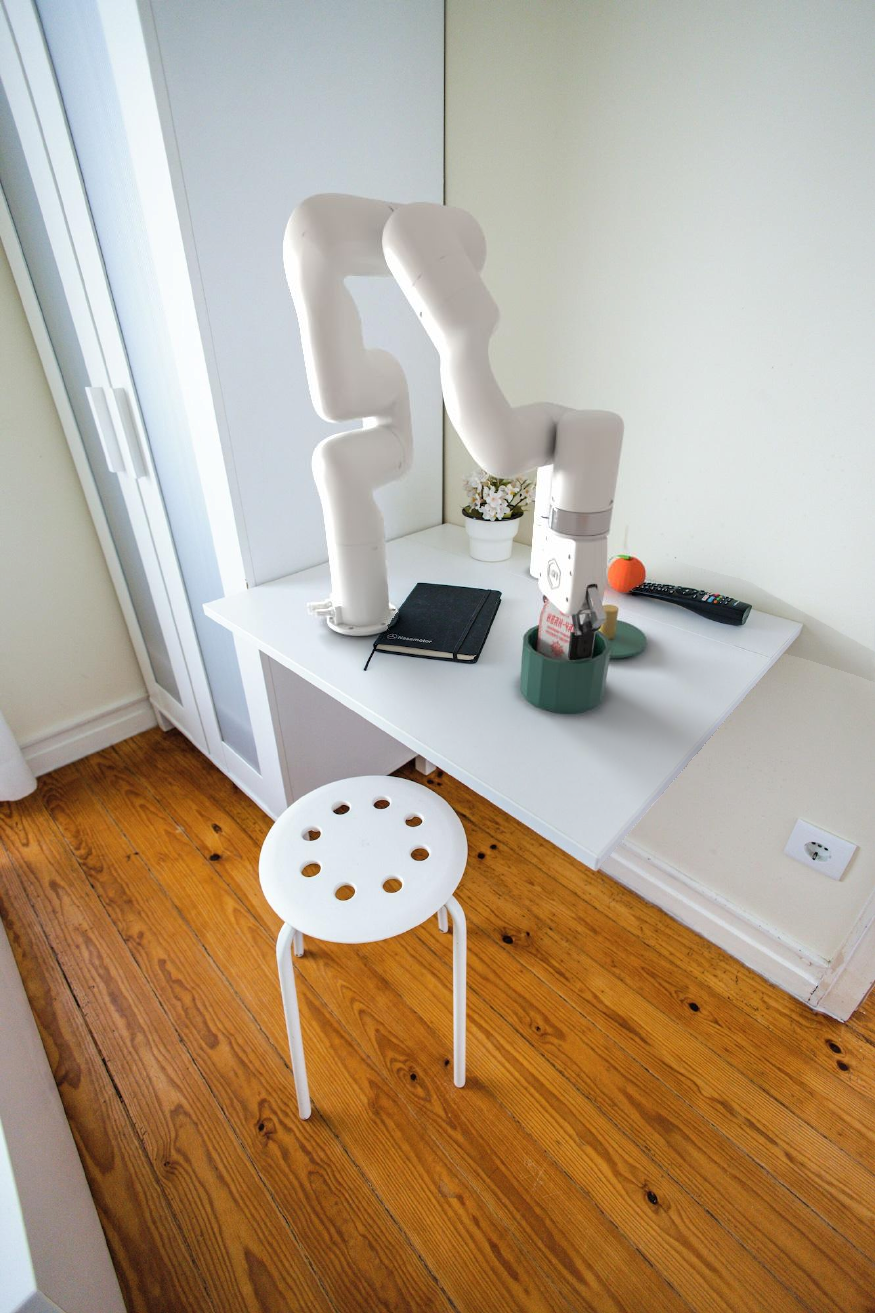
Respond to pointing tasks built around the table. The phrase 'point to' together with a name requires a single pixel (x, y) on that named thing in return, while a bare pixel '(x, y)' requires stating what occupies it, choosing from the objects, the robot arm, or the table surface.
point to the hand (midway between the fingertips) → (565, 642)
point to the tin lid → (621, 635)
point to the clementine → (626, 573)
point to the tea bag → (556, 632)
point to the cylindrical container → (541, 516)
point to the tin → (563, 677)
